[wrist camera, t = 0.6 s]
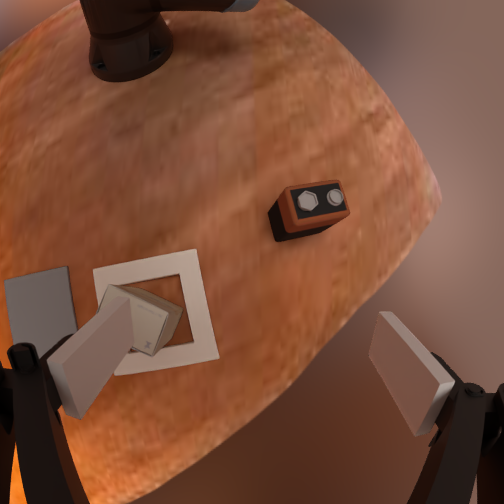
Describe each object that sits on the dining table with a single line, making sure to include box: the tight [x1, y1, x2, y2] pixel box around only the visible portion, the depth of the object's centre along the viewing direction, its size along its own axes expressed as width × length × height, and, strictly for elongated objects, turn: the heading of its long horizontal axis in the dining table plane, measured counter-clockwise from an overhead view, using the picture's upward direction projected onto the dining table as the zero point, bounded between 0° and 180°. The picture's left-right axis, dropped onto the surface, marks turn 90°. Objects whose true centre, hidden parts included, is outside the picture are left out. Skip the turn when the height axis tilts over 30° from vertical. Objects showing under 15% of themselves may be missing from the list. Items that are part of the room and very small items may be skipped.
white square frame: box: [93, 249, 220, 376], centre depth 34 cm, size 13×13×2 cm
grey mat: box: [4, 266, 78, 359], centre depth 31 cm, size 16×12×1 cm
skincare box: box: [96, 284, 183, 357], centre depth 29 cm, size 6×4×12 cm
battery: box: [268, 180, 350, 242], centre depth 34 cm, size 4×7×10 cm, turn 104°
